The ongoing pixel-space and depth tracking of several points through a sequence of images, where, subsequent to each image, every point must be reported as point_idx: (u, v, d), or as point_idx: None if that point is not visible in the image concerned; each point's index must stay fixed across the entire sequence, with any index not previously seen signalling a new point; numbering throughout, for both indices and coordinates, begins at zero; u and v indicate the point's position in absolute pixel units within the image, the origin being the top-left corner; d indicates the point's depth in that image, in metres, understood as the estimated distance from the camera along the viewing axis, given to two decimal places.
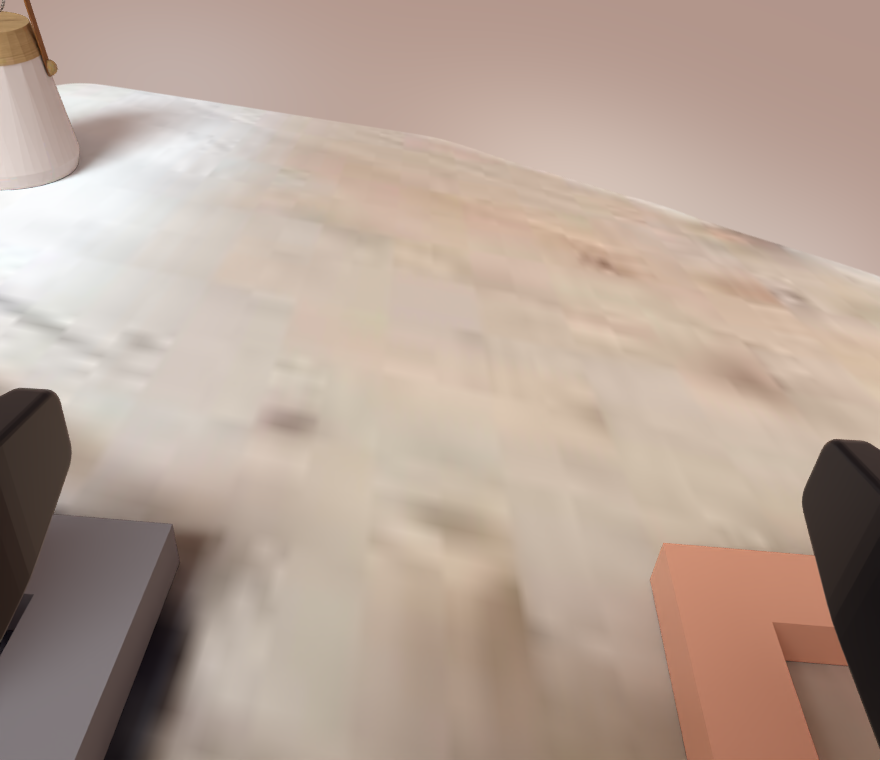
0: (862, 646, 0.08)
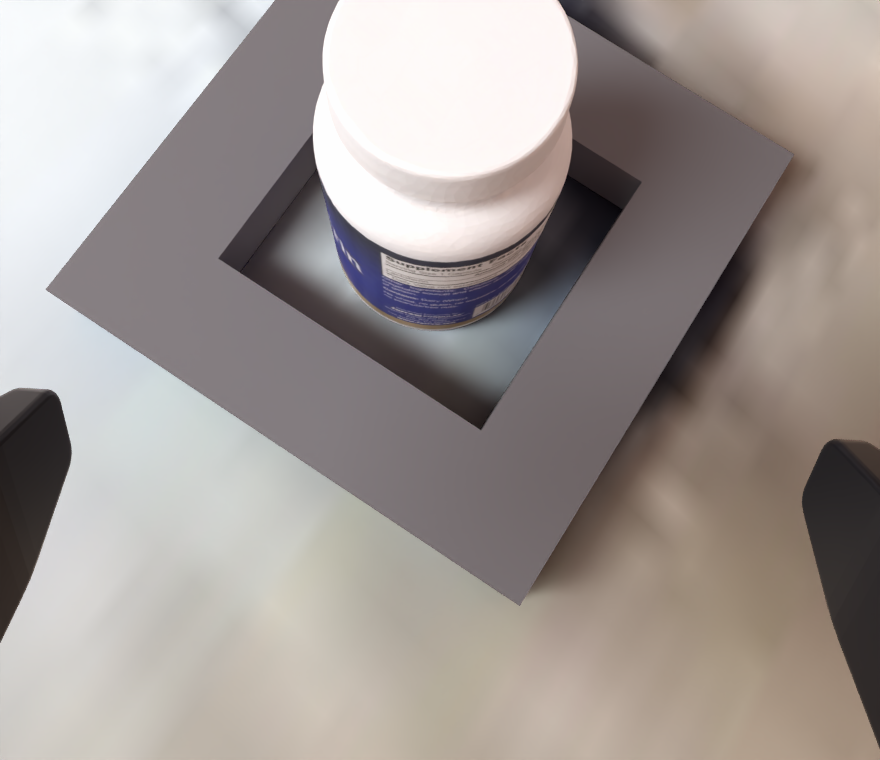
0: (862, 646, 0.08)
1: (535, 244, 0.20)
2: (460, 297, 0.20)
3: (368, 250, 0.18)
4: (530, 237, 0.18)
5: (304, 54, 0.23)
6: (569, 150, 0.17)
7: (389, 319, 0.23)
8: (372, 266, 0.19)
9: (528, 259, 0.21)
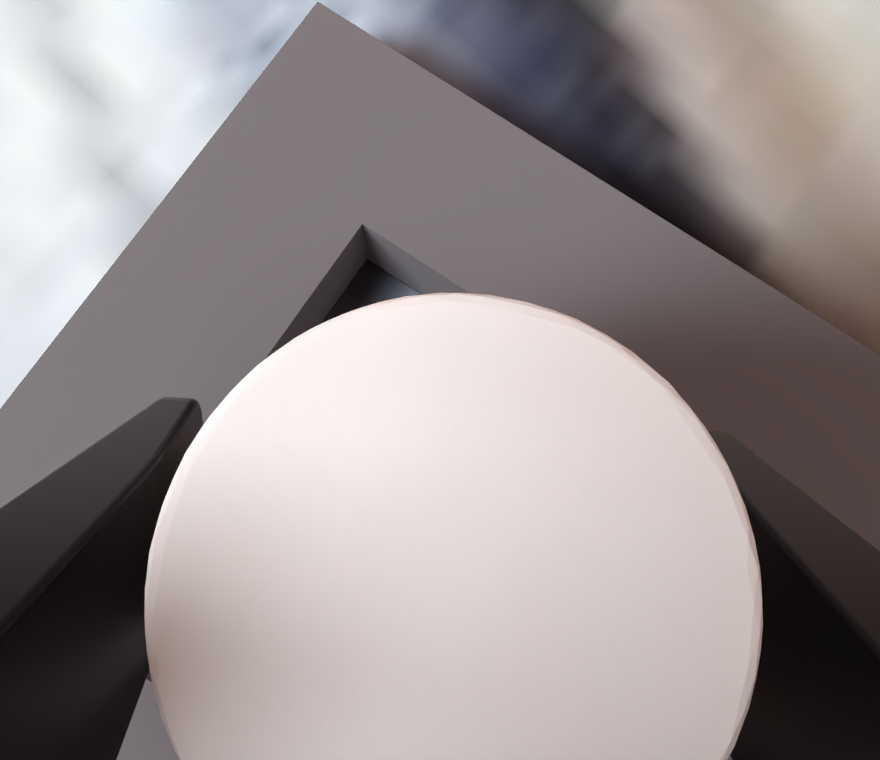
0: None
1: None
2: None
3: None
4: None
5: (221, 271, 0.14)
6: None
7: None
8: None
9: None
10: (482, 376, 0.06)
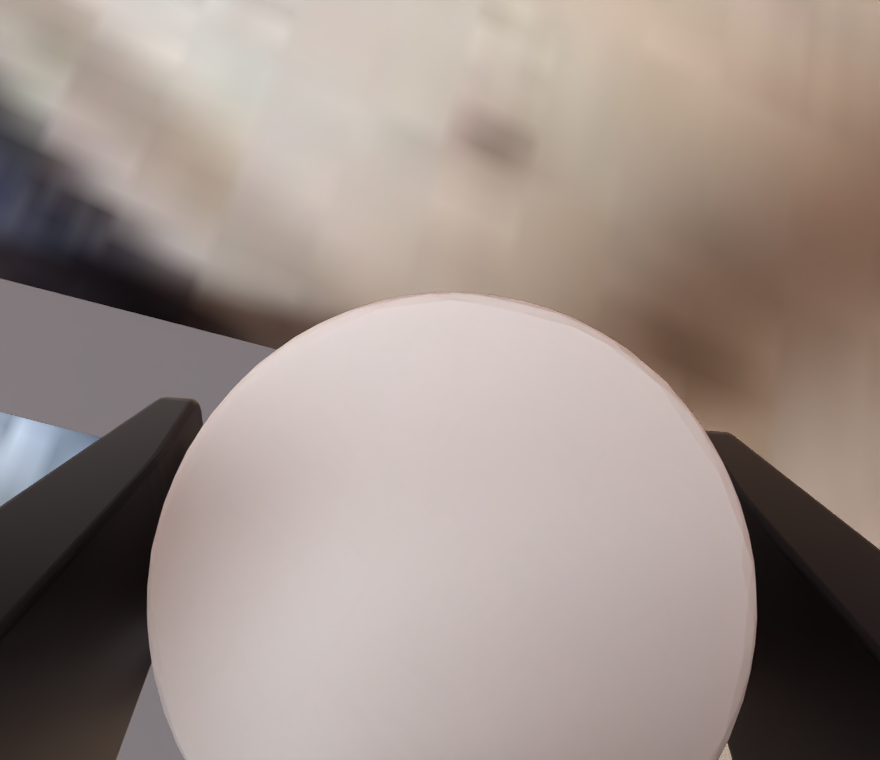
0: None
1: None
2: None
3: None
4: None
5: None
6: None
7: None
8: None
9: None
10: (482, 374, 0.06)
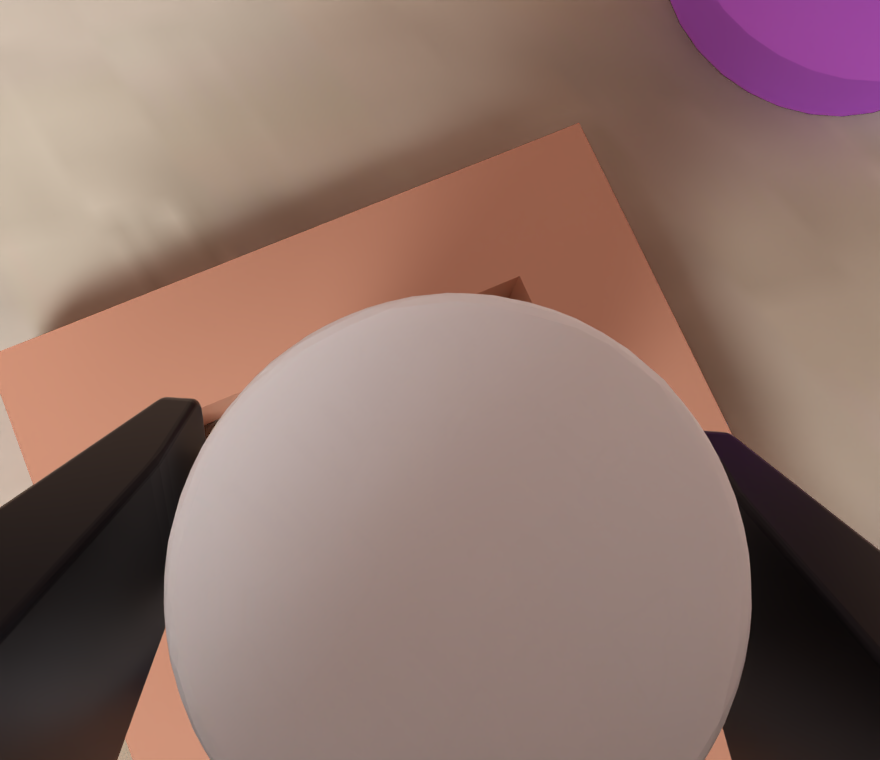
0: None
1: None
2: None
3: None
4: None
5: None
6: None
7: None
8: None
9: None
10: (487, 373, 0.06)
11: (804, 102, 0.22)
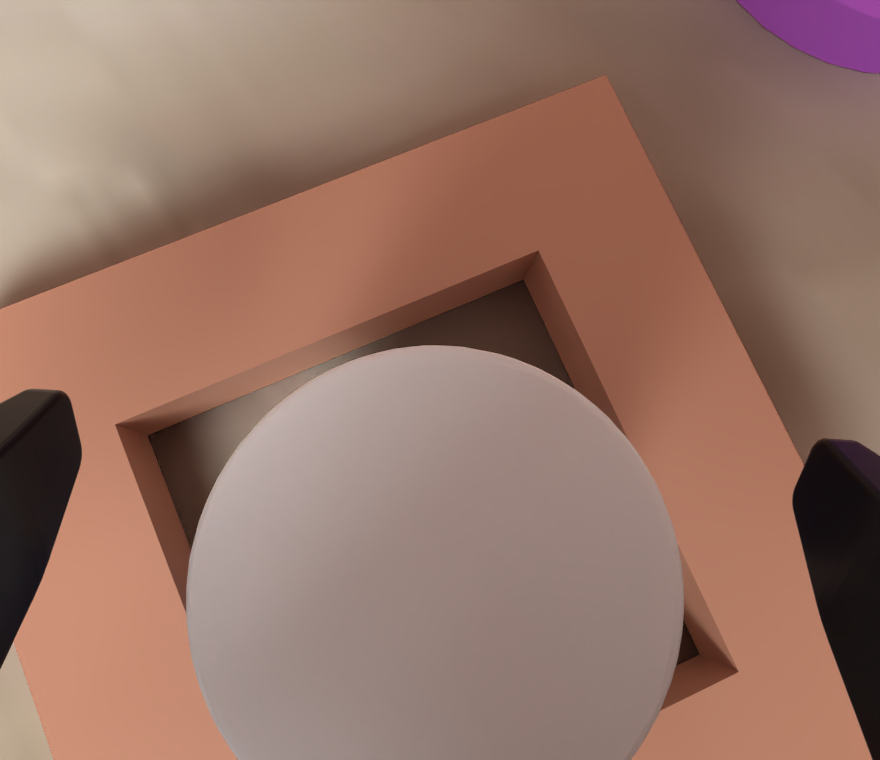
0: (850, 645, 0.08)
1: None
2: None
3: None
4: None
5: None
6: None
7: None
8: None
9: None
10: (458, 414, 0.08)
11: (860, 57, 0.19)
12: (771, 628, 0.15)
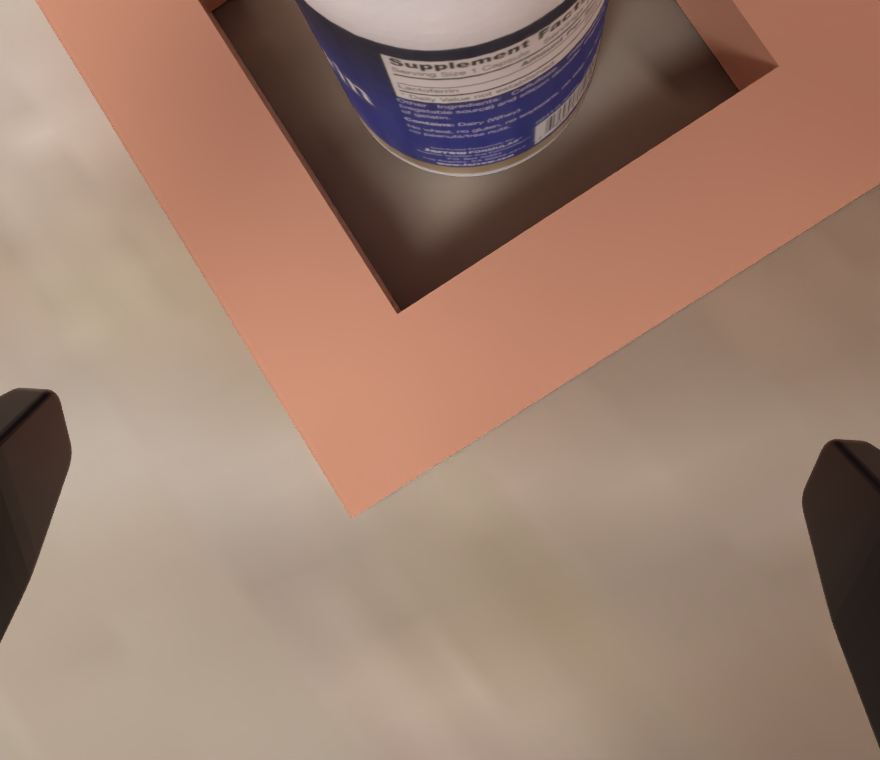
0: (862, 646, 0.08)
1: (603, 11, 0.14)
2: (510, 110, 0.14)
3: (365, 58, 0.12)
4: None
5: None
6: None
7: (429, 170, 0.18)
8: (380, 86, 0.13)
9: (597, 41, 0.15)
10: None
11: None
12: (807, 21, 0.16)
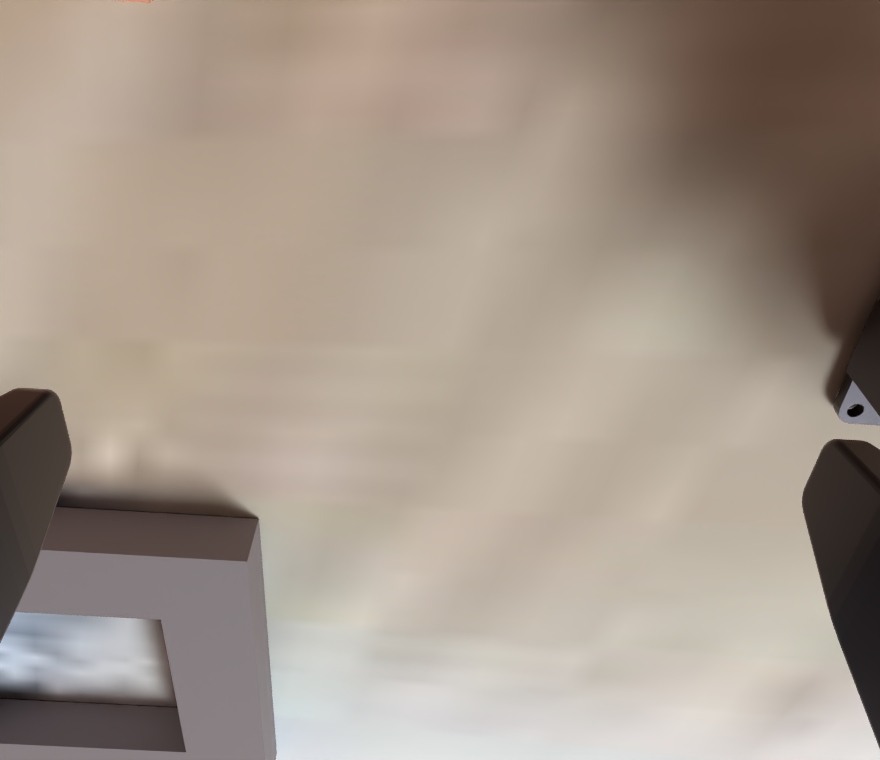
0: (862, 646, 0.08)
1: None
2: None
3: None
4: None
5: None
6: None
7: None
8: None
9: None
10: None
11: None
12: None
